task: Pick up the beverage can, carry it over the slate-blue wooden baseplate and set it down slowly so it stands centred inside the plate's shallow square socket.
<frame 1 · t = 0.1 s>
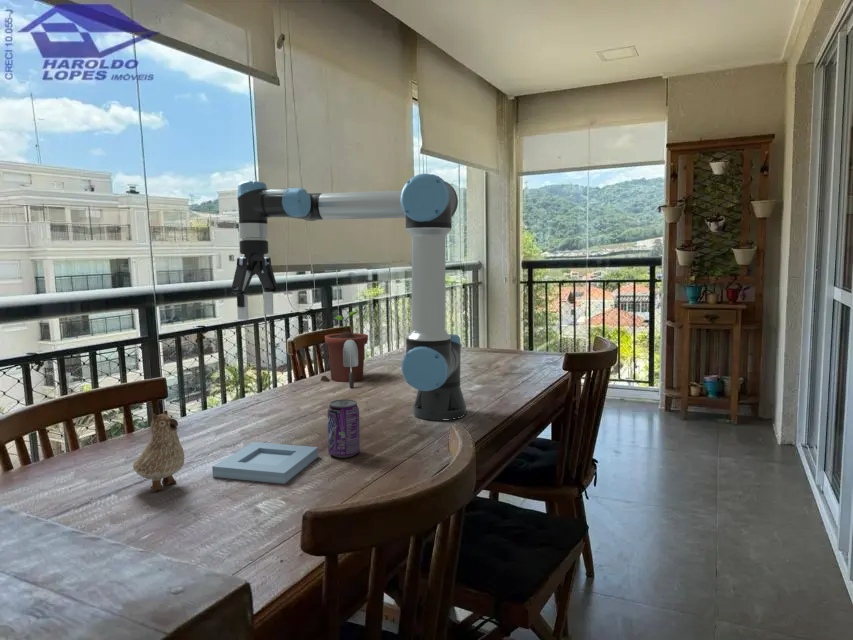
hand: (256, 317, 160), 28 cm above the table, fingers open, 13 cm apart
beverage can: (344, 454, 131), on the table
baseplate: (267, 466, 124), on the table
potted plant: (345, 381, 209), on the table
figurine: (159, 488, 113), on the table
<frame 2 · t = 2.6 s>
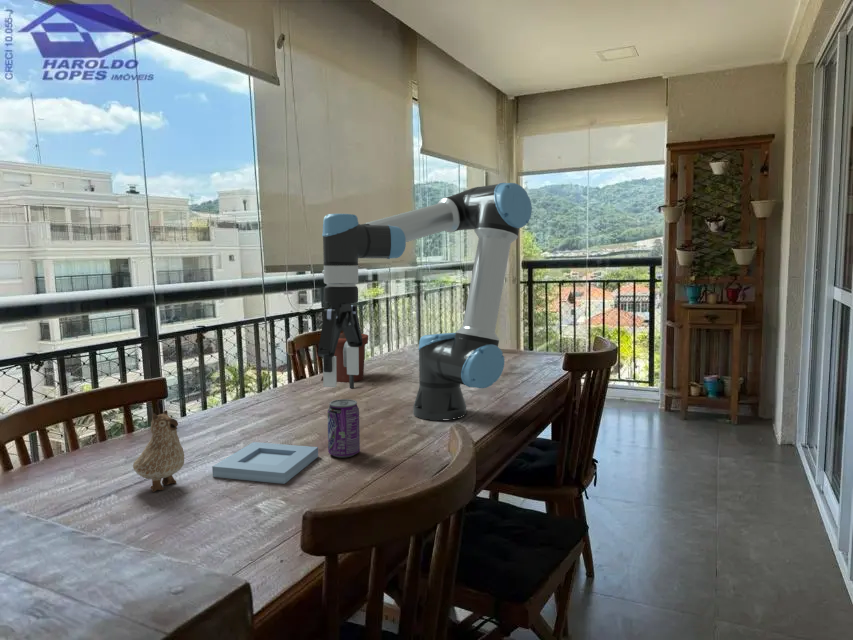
hand: (342, 380, 129), 17 cm above the table, fingers open, 13 cm apart
nothing on the table moved.
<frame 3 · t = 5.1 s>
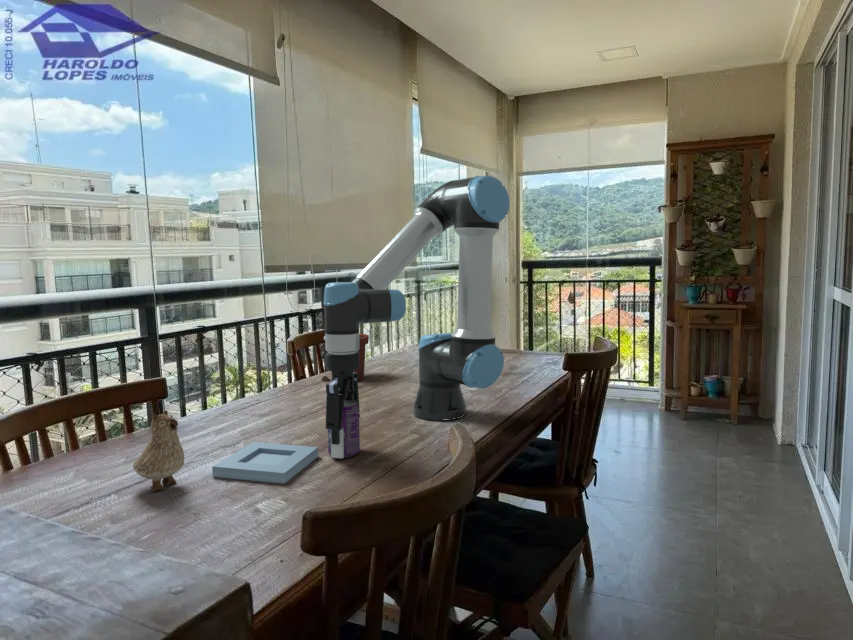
hand: (344, 451, 131), 1 cm above the table, fingers closed on beverage can, 7 cm apart
beverage can: (344, 454, 131), on the table, touching gripper
everything else where it was.
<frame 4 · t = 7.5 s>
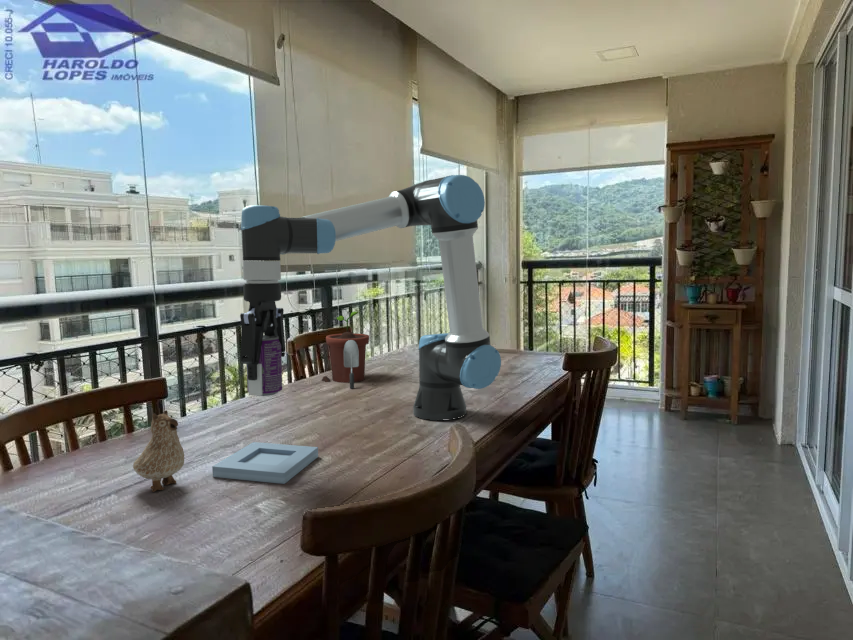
hand: (265, 390, 122), 16 cm above the table, fingers closed on beverage can, 7 cm apart
beverage can: (265, 394, 122), point 16 cm above the table, touching gripper
everything else where it was.
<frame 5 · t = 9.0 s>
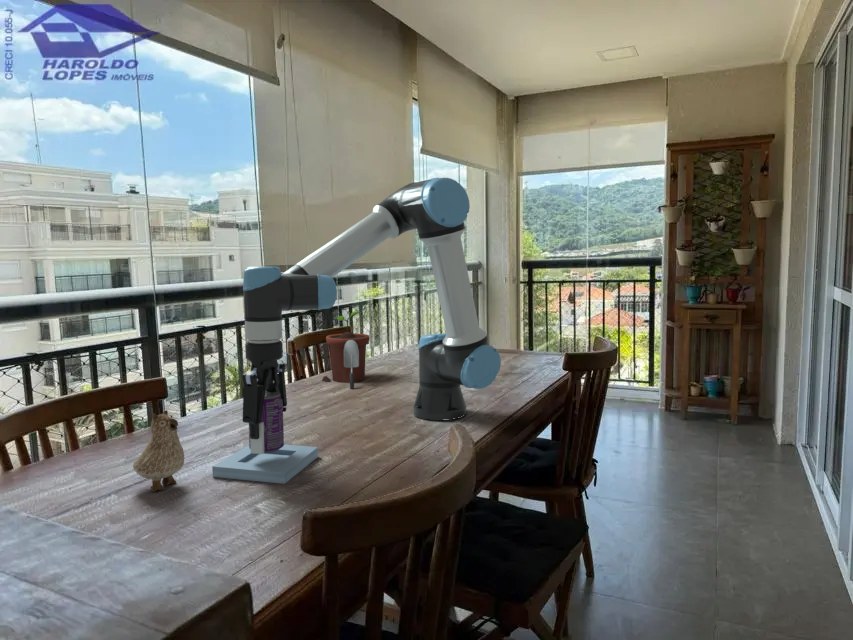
hand: (267, 446, 123), 4 cm above the table, fingers closed on beverage can, 7 cm apart
beverage can: (266, 450, 123), point 4 cm above the table, touching gripper
when the fingers open (3 cm above the table, at t = 10.0 s): beverage can drops 1 cm, resting on baseplate.
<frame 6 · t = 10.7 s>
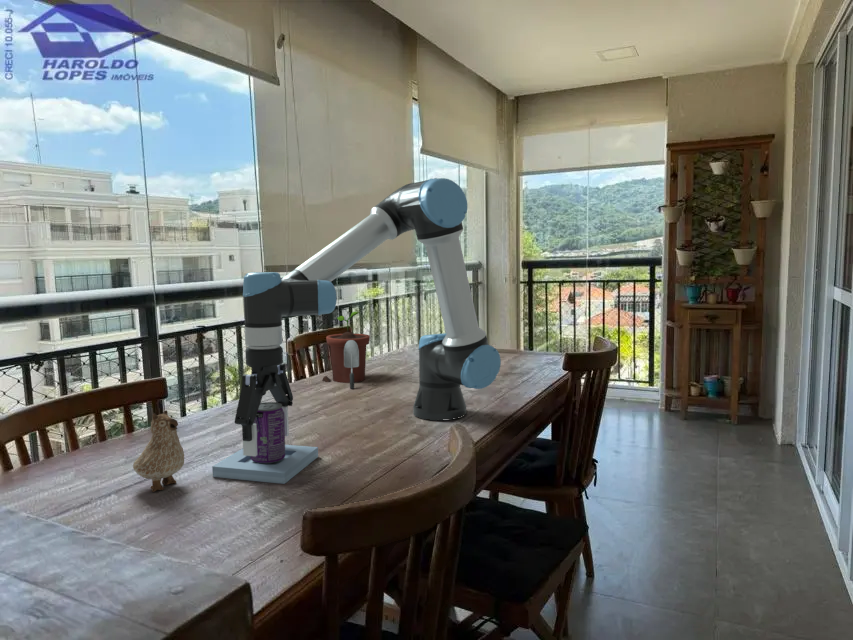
hand: (267, 444, 123), 5 cm above the table, fingers open, 13 cm apart
beverage can: (268, 461, 124), point 1 cm above the table, touching baseplate
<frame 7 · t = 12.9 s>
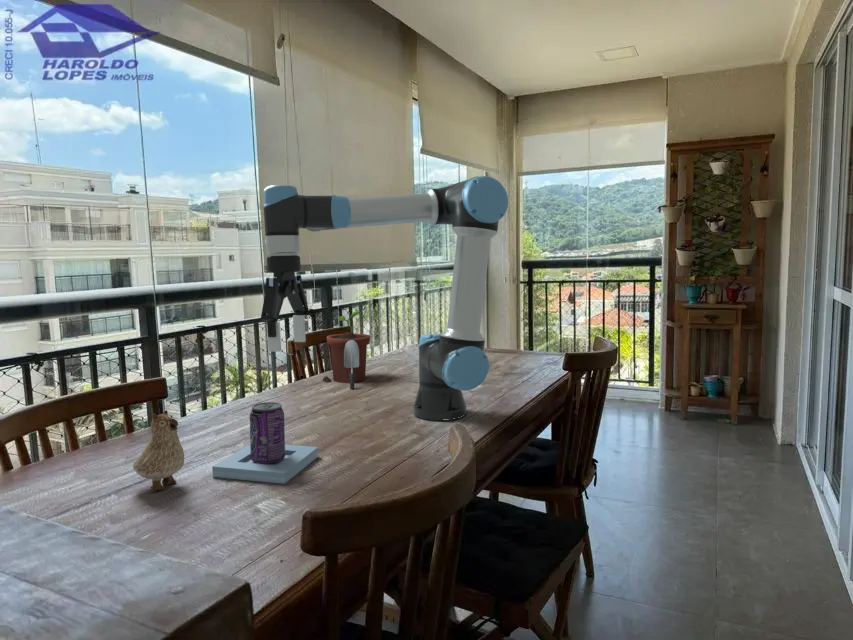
hand: (288, 346, 135), 24 cm above the table, fingers open, 13 cm apart
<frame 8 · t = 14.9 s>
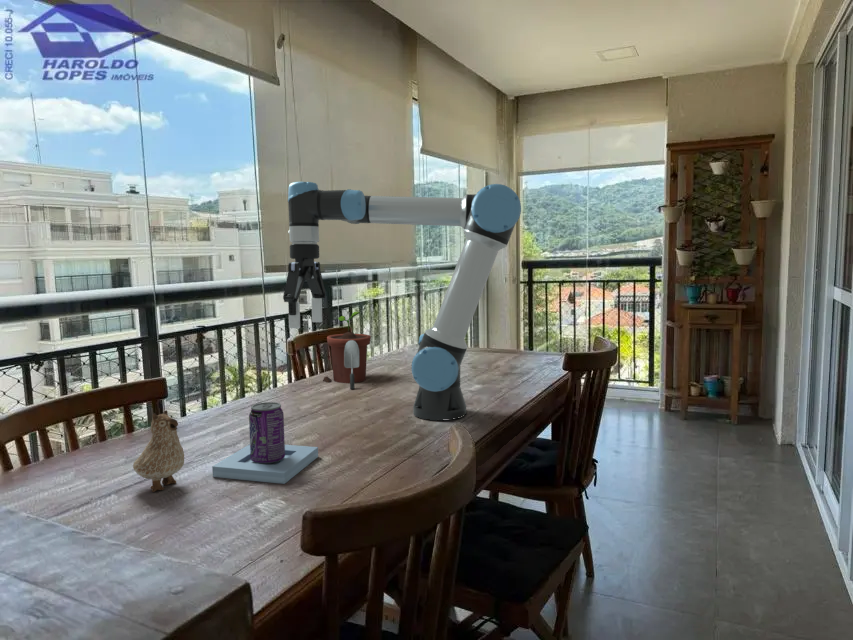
hand: (306, 325, 152), 27 cm above the table, fingers open, 13 cm apart
at the end: beverage can 0.1 cm off-centre on the baseplate, point 1.0 cm above the baseplate's base; beverage can tilted 1°; the gripper is holding nothing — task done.
